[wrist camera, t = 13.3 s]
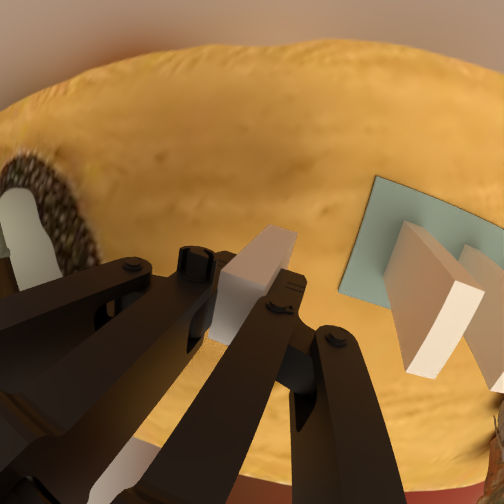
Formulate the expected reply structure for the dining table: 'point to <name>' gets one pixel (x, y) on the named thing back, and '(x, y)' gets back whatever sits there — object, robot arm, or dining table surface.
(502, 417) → the hand grenade
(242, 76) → the dining table surface
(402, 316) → the domino
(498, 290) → the domino
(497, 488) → the figurine
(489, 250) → the strip
